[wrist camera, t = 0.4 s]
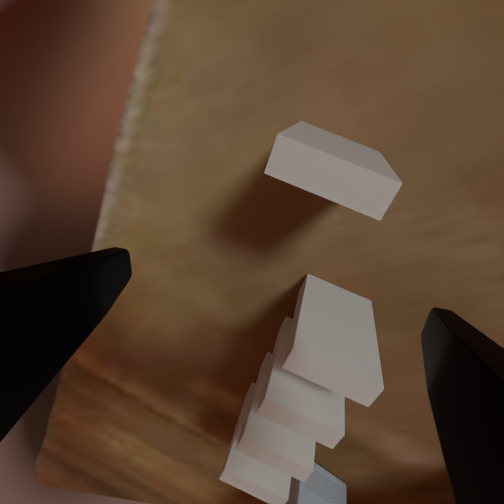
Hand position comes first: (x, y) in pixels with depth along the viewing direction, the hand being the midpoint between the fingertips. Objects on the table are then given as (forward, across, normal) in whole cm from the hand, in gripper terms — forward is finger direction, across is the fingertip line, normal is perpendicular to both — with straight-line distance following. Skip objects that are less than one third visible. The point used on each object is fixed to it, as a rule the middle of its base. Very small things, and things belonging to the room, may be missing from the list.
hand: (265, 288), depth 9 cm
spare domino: (+13, -1, -2) cm, 13 cm away
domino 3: (+13, -1, +16) cm, 21 cm away
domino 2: (+13, -2, +12) cm, 18 cm away
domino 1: (+13, -3, +8) cm, 15 cm away
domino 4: (+13, 0, +21) cm, 24 cm away
